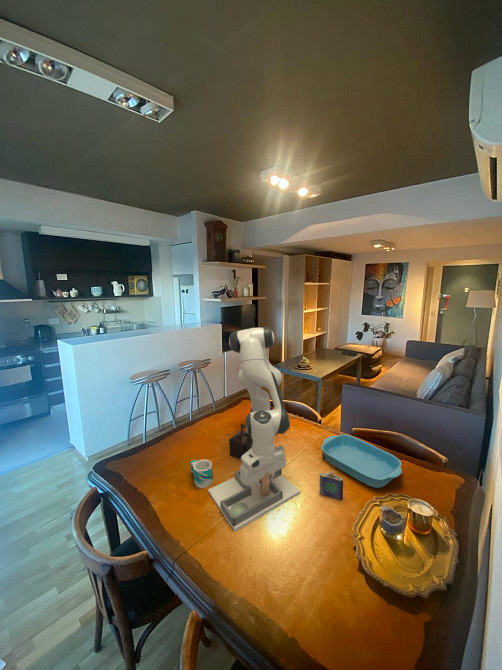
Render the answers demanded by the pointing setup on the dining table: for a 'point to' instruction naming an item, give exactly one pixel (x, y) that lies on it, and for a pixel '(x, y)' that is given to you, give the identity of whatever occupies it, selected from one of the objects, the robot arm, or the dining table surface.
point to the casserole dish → (361, 460)
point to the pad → (238, 508)
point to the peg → (265, 485)
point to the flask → (331, 485)
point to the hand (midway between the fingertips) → (264, 484)
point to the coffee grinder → (240, 443)
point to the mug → (202, 473)
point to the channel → (251, 498)
